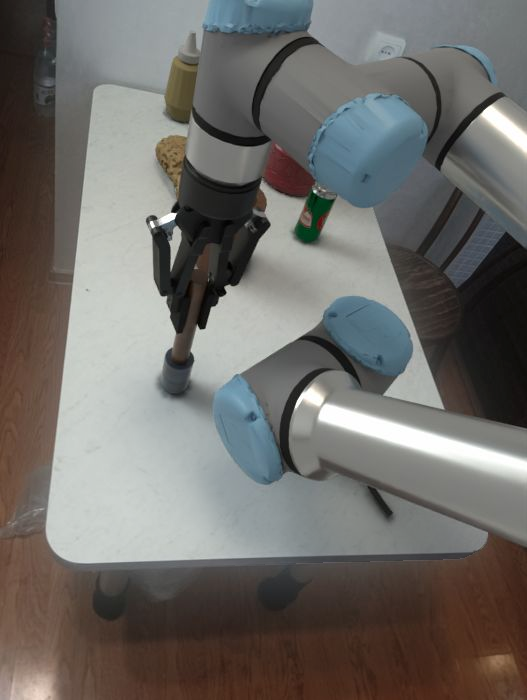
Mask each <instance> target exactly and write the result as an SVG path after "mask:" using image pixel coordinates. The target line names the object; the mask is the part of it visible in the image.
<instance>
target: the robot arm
mask: <svg viewBox="0 0 527 700" xmlns="http://www.w3.org/2000/svg"><path fill="white" fill-rule="evenodd" d="M313 9H314V0H209V1H208V6H207V10H206V13H205V17H204V21H203V22H202V29H203V31H202V38H201V39H202V40H201V46H200V58H199V65H198V72H197V78H196V85H195V92H194V98H193V104H192V110H191V115H190V121H188V127H187V128H188V129H187V135H186V137H187V140H186V147H185V153H186V154H185V156H184V158H183V164H182V171H181V177H180V183H179V194H178V199H177V198H176V201H175V203H174V204H173V205H172V207H171V208H170V213H168V214H166V215H164V216H162V217H160V218H158V217H157V215H155V214H151V215H148V216H147V217H146V218H145V223H146V225H147V228H148V230H149V233H150V235H151V241H152V242H151V243H152V272H153V273H152V274H153V275H152V277H153V282H154V284H155V286H156V288H157V291H158V294H159V296H160V297H164V298H165V297H166V301H165V304H166V305H167V309H168V310H169V314H170V315H169V320H170V321H171V324H172V327H173V329H174V331H175V335H176V334H180V333H183V328H184V324H185V319H186V315H187V310H188V306H189V301H190V296H189V294H188V292H187V287H188V284H189V281H190V279H191V276H192V273H193V271H194V269H196V266H197V265H196V262H197V260H198V257H199V255H202V254H203V251H204V249H205V246H206V245H207V244H210V243H211V246H210V257H209V268H208V276H209V280H208V284H207V288H206V292H205V296H204V300H203V304H202V308H201V312H200V316H199V320H198V323H197V327H198V329H199V331H202V330H206V328H207V324H208V322H209V321H208V320H209V317H210V313H211V310H212V308H215V307H217V305H218V304H219V300H220V298H223V297H225V296H226V295H227V292H228V291H227V290H226V287H227V286H230V287H237V286H238V285H239V284H240V282H241V280H242V278H243V277H244V274H245V271H246V270H247V268H248V265H249V263H250V260H251V259H252V257H253V254H254V252H255V250H256V247H257V246H258V243H259V241H260V239H261V238H262V237H263V236H264V235H265V234H266V232H267V231H268V230H269V229H270V228H271V222H270V220H269V219H268V217H267V215H266V212H263V210H262V208H261V207H256V208H254V209H253V207H254V204H255V201H256V197H257V194H258V191H259V188H261V184H262V181H263V173H264V171H265V169H266V165H267V162H268V158H269V155H270V151H271V147H272V144H273V141H274V142H275V143H276V144H277V145H278V146H279V147H281V148H282V149H283V150H284V151H285V152H286V153H287V154H288V155H290V156H291V157H292V158H293V159H294V160H295V161H296V162H297V163H298V164H300V165H301V166H302V167H303V168H304V169H305V170H306V171H307V172H309V173H310V174H311V175H312V176H313V178H314V179H315V180H316V181H317V182H318V183H319V184H320V185H322V186H324V187H325V188H329V189H330V190H332V191H333V192H334V193H336V194H337V196H338V197H340V198H341V199H343V200H344V201H345V202H347V203H348V204H350V205H351V206H352V207H355V208H358V209H369V208H372V207H375V206H378V205H379V204H382V203H383V202H384V201H386V200H387V199H388V198H389V196H390V195H392V193H394V192H396V191H398V189H400V188H401V186H403V184H404V183H405V182H406V181H407V180H408V178H409V177H410V176H411V174H412V173H413V172H414V170H415V169H416V167H417V165H418V163H419V162H420V160H421V159H422V158H423V159H424V160H425V161H426V162H428V163H429V165H431V166H433V167H434V168H435V169H436V170H437V171H439V173H440V174H442V175H443V176H444V177H445V178H446V179H448V181H450V183H451V184H453V185H454V186H455V187H457V189H459V190H460V191H461V192H462V193H463V194H464V195H465V196H467V198H469V199H470V200H471V202H473V203H475V205H476V206H477V207H479V208H480V209H481V210H482V211H483V212H484V213H485V214H486V215H487V216H488V217H490V218H491V219H492V220H493V221H494V222H495V223H496V224H497V225H499V226H500V228H502V229H503V230H504V231H505V232H506V233H507V234H509V235H510V236H511V237H512V239H514V240H515V241H516V242H518V243H519V244H520V246H522V248H524V249H525V250H526V251H527V111H526V110H524V109H523V108H522V107H521V106H519V105H518V104H517V103H516V102H514V101H513V100H512V99H511V98H509V97H508V96H507V95H506V94H505V93H504V92H502V90H500V89H499V87H498V85H499V83H498V77H497V75H496V71H495V68H494V66H493V64H492V61H491V60H490V58H489V57H488V56H487V55H486V54H485V53H483V52H482V51H481V50H479V49H478V48H475V47H474V46H473V47H472V46H469V45H450V44H443V45H442V44H441V45H435V46H432V47H430V48H427V49H424V50H421V51H416V52H412V53H408V54H404V55H400V56H394V57H390V58H386V59H381V60H376V61H371V62H367V63H362V64H358V65H355V64H352V63H350V62H347V61H346V60H345V59H343V58H341V57H340V56H339V55H337V54H336V53H334V52H333V51H332V50H330V49H329V48H328V47H326V46H324V45H323V44H322V43H321V42H320V41H319V40H318V39H317V38H315V37H314V36H312V34H310V33H309V32H308V30H309V29H310V26H311V24H312V19H311V17H312V13H313ZM176 227H177V228H178V229H179V230H180V237H181V239H180V243H179V246H178V249H177V251H176V255H175V257H174V261H173V264H172V265H171V263H172V260H171V259H172V248H171V244H170V242H171V241H173V235H174V229H175V228H176ZM239 229H240V230H239ZM238 230H239V232H238V234H237V237H236V239H235V241H234V244H233V237H234V235H235V233H236V232H237V231H238ZM232 244H233V246H232ZM229 251H230V253H229ZM171 266H172V267H171ZM413 353H414V343H413V340H412V337H411V333H410V331H409V329H408V327H407V326H406V324H405V323H404V322H403V321H402V319H401V318H400V317H399V316H398V315H397V314H396V313H395V312H394V311H393V310H391V309H390V308H388V307H387V306H385V305H383V304H382V303H380V302H378V301H376V300H373V299H369V298H367V297H365V296H361V295H344V296H341V297H338V298H337V299H335V300H333V301H332V302H331V303H330V304H329V306H328V307H326V309H324V312H323V314H322V319H321V320H320V321H319V322H318V324H316V326H315V327H313V328H312V329H310V330H309V331H307V332H306V333H304V334H302V335H301V336H299V337H298V338H296V339H294V340H293V341H291V342H289V343H287V344H286V345H284V346H283V347H281V348H279V349H277V350H276V351H274V352H273V353H271V354H270V355H267V356H266V357H265V358H263V359H262V360H260V361H259V362H257V363H255V364H254V365H252V366H250V367H249V368H247V369H245V370H244V371H243V372H241V373H236V374H234V375H233V376H232V379H230V380H229V381H227V382H226V383H225V384H223V385H222V386H221V387H219V388H218V389H217V390H216V392H215V394H214V397H213V400H212V416H213V421H214V425H215V427H216V430H217V434H218V436H219V438H220V440H221V442H222V444H223V446H224V448H225V450H226V451H227V452H228V455H229V456H230V457H231V459H232V461H234V463H235V464H236V465H237V467H238V468H239V469H240V470H241V471H242V472H243V473H244V475H246V476H247V477H249V478H250V479H251V480H252V481H253V482H255V483H257V484H260V485H264V486H269V485H271V484H273V483H275V482H279V481H280V480H282V479H283V476H284V475H285V474H286V473H293V474H296V475H298V476H300V477H302V478H305V479H308V480H311V481H315V482H325V481H328V480H330V479H333V478H335V477H336V476H338V475H339V476H341V477H345V478H347V479H349V480H351V481H355V482H357V483H359V484H363V485H365V486H366V488H367V489H368V491H369V493H370V494H371V496H372V498H373V499H374V500H375V502H376V504H377V505H378V506H379V508H380V509H381V511H382V512H383V513H384V514H385V515H386V517H387V518H389V517H391V516H392V515H393V514H394V512H393V511H392V509H391V508H390V507H389V505H388V504H387V503H386V501H385V500H384V498H383V497H382V496H381V494H380V492H383V493H385V494H388V495H391V496H393V497H397V498H398V499H401V500H404V501H406V502H409V503H412V504H414V505H417V506H419V507H422V508H425V509H427V510H430V511H432V512H434V513H437V514H440V515H442V516H445V517H448V518H450V519H453V520H455V521H458V522H461V523H462V524H466V525H468V526H470V527H473V528H476V529H478V530H480V531H484V532H486V533H488V534H491V535H494V536H497V537H499V538H501V539H504V540H507V541H509V542H512V543H514V544H517V545H520V546H522V547H524V548H527V428H525V427H522V426H521V427H520V426H516V425H512V424H508V423H503V422H499V421H495V420H492V419H487V418H482V417H478V416H473V415H469V414H465V413H461V412H456V411H453V410H452V411H451V410H448V409H444V408H439V407H436V406H431V405H426V404H422V403H418V402H415V401H409V400H405V399H400V398H397V397H392V396H387V395H384V394H385V393H386V392H387V391H388V390H389V389H390V387H391V386H392V384H393V383H394V382H395V381H396V380H397V379H398V377H399V376H400V375H402V374H403V373H404V372H405V371H406V368H407V366H408V365H409V363H410V361H411V359H412V357H413ZM379 491H380V492H379Z"/></svg>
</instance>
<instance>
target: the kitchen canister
mask: <svg viewBox="0 0 527 700" xmlns="http://www.w3.org/2000/svg"><path fill="white" fill-rule="evenodd" d="M262 178H264V180H265V181H266V182H267V184H269V186H271V187H272V188H274V189H275V190H277V191H279V192H281V193H283V194H286V195H290V196H295V197H302V196H308V194H309V191H310V189H311V186H312V185H313V184H314V183H315V182H316V180H315V179H314V178H313V176H312V175H311V174H310V173H309V172H307V171H306V170H305V169H304V168H303V167H302V166H301V165H300V164H298V163H297V162H296V161H295V160H294V159H293V158H292V157H291V156H290V155H288V154H287V153H286V152H285V151H284V150H283V149H282V148H281V147H279V146H278V145H277V144H276V143H275V142H274V141H273V144H272V147H271V151H270V155H269V158H268V162H267V165H266V169H265V171H264V173H263V174H262Z"/></svg>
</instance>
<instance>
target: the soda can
mask: <svg viewBox="0 0 527 700" xmlns="http://www.w3.org/2000/svg"><path fill="white" fill-rule="evenodd" d="M306 196H307V197H306V199H305V202H304V204H303V207H302V209H301V213H300V214H299V217H298V220H297V222H296V225H295V227H294V234H295V237H296V238H297V239H298V240H300V241H301V242H303V243H307V244H312V243H316V242H317V241H318V240H319V239H320V236H321V233H322V231H323V229H324V227H325V225H326V222H327V220H328V218H329V216H330V213H331V211H332V210H333V209H332V208H333V206H334V204H335V202H336V200H337V198H338V195H337V194H336V193H334V192H333V191H332V190H330V189H329V188H325V187H324V186H322V185H320V184H319V183H318V182H317V181H316V182H315V183H314V184H313V185H312V186H311V189H310V191H309V194H308V195H306Z"/></svg>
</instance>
